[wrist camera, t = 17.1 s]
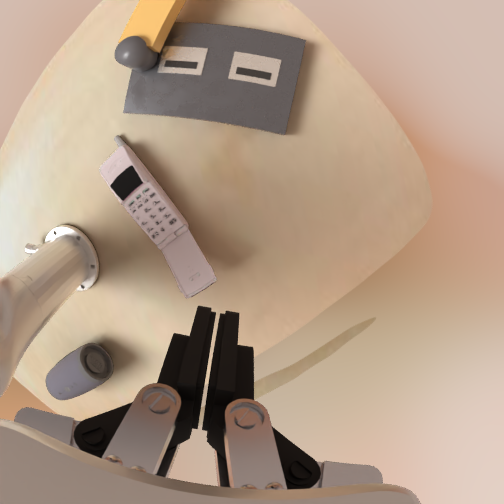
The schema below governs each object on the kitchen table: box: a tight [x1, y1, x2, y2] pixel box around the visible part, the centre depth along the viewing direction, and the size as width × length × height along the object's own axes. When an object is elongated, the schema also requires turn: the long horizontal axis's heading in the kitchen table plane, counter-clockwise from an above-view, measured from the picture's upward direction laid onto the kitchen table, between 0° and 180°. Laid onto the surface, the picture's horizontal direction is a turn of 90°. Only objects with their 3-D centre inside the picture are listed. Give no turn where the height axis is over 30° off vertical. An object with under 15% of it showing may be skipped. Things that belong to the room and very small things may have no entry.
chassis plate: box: [123, 23, 306, 135], centre depth 30 cm, size 22×14×2 cm, turn 78°
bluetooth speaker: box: [46, 343, 113, 400], centre depth 48 cm, size 23×9×10 cm, turn 126°
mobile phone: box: [99, 135, 217, 298], centre depth 36 cm, size 6×6×25 cm
